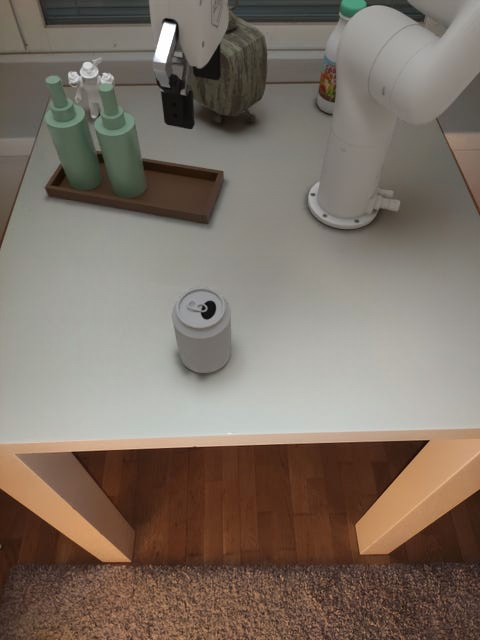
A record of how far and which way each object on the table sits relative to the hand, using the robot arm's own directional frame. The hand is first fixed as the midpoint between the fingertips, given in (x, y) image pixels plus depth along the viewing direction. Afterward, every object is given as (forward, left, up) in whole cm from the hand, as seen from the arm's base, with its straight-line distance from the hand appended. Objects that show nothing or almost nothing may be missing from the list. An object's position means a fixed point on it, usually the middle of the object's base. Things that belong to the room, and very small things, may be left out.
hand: (194, 100), depth 53 cm
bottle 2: (+19, -15, -29) cm, 37 cm away
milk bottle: (-15, -50, -29) cm, 59 cm away
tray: (+17, -15, -29) cm, 37 cm away
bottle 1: (+27, -15, -29) cm, 42 cm away
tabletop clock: (+7, -40, -29) cm, 50 cm away
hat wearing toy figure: (+32, -34, -29) cm, 55 cm away
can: (-4, +15, -29) cm, 33 cm away
